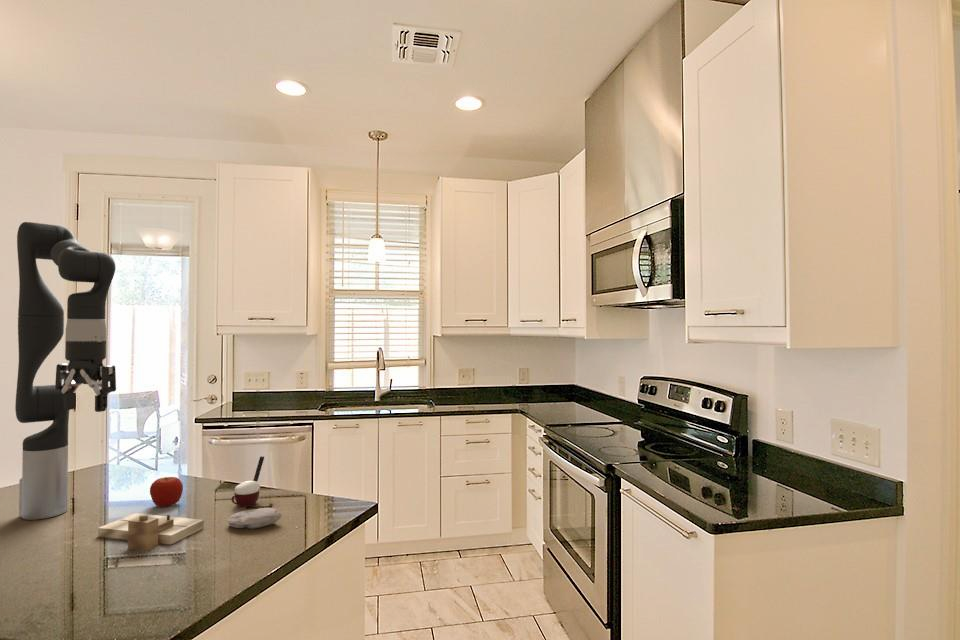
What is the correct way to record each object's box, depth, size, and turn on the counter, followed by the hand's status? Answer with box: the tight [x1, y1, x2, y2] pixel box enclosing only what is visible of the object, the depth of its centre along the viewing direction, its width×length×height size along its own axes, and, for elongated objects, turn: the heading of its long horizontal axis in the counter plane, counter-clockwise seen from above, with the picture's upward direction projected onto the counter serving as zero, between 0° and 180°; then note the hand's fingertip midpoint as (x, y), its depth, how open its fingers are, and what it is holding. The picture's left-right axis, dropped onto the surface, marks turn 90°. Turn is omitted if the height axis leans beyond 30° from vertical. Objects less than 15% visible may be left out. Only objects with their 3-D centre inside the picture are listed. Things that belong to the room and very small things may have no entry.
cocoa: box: [231, 455, 265, 507], centre depth 147 cm, size 10×6×12 cm, turn 127°
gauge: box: [127, 514, 174, 551], centre depth 122 cm, size 5×9×7 cm, turn 167°
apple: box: [149, 476, 184, 508], centre depth 146 cm, size 8×8×8 cm
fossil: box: [227, 507, 282, 530], centre depth 132 cm, size 12×4×10 cm
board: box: [97, 512, 205, 545], centre depth 127 cm, size 20×10×2 cm, turn 77°
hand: (85, 410), depth 122 cm, fingers open, 8 cm apart
